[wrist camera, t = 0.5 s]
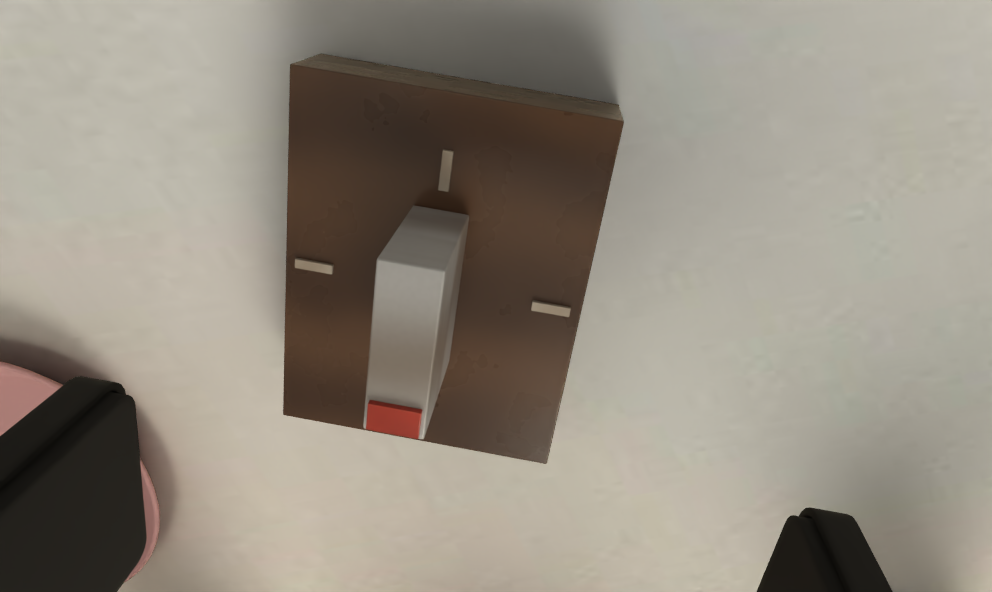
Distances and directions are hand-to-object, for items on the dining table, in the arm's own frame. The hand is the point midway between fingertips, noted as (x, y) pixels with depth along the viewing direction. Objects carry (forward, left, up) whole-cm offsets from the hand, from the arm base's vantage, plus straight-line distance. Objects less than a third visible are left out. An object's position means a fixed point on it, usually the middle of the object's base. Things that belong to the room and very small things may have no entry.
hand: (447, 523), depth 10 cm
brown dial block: (+4, -3, -19) cm, 19 cm away
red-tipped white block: (+4, -3, -16) cm, 16 cm away
